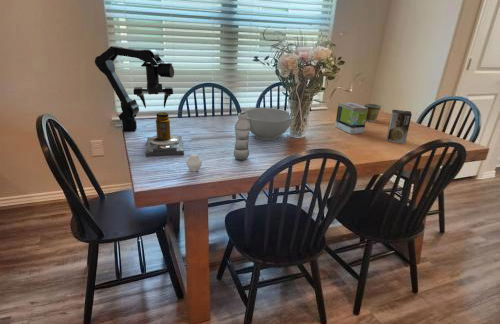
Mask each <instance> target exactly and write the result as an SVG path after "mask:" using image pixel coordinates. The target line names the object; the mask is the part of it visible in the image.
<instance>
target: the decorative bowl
mask: <svg viewBox="0 0 500 324" xmlns="http://www.w3.org/2000/svg"><path fill="white" fill-rule="evenodd" d="M289 112H290V111H287V110H284V109H279V108H272V107H257V108H256V107H255V108H249V109H248V108H247V109H246V110H243V111H242V112H241V113H247V121H248V122H249V124H250V132H249V133H251V134H253V135H254V138H257V139H259V140H261V141H275V140H277V139H278V138H279V137H280V136H282V135H283V134H285V133H286V132H287V131H288V130H289V128H290V127H291V126H292V124H293V122H294V119H295V115H294V116H293V117H292V118H291V119H290V115H289Z"/></svg>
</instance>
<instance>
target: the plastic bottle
mask: <svg viewBox="0 0 500 324" xmlns="http://www.w3.org/2000/svg"><path fill="white" fill-rule="evenodd" d="M237 119H238V120H237V121H236V122H235V123H234V132H235V143H234V149H233V157H234V158H235V159H236V160H240V161H243V160H247V159H248V158H249V155H250V150H249V137H250V133H251V132H250V124H249V122H248V121H247V113H242V112H239V113H238V114H237Z"/></svg>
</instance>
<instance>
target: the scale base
mask: <svg viewBox="0 0 500 324" xmlns="http://www.w3.org/2000/svg"><path fill="white" fill-rule="evenodd" d="M176 136H177V137H178V138H179V142H178V143H177V144H168V145H152V144H151V143H150V139H151V138H152V137H153V136H151V137H149V136H148V137H147V138H146V146H145V157H146V158H147V157H149V158H151V157H153V158H154V157H168V156H170V157H171V156H185V149H184V143H183V137H182V135H181V136H180V135H176Z"/></svg>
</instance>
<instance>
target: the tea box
mask: <svg viewBox="0 0 500 324" xmlns="http://www.w3.org/2000/svg"><path fill="white" fill-rule="evenodd" d="M336 111H337V112H336V118H335V124H334V125H335V126H334V127H335V128H338V129H340V130H342V131H344V132H346V133H348V134H349V135H350V134H351V135H352V134H363V133H364V132H365V127H366V124H367V123H366V122H367V121H366V118H367V112H368V107H365V106H364V105H363V104H362V105H361V104H358V103H355V102H352V101H351V102H349V101H347V102H338V105H337V110H336Z"/></svg>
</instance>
